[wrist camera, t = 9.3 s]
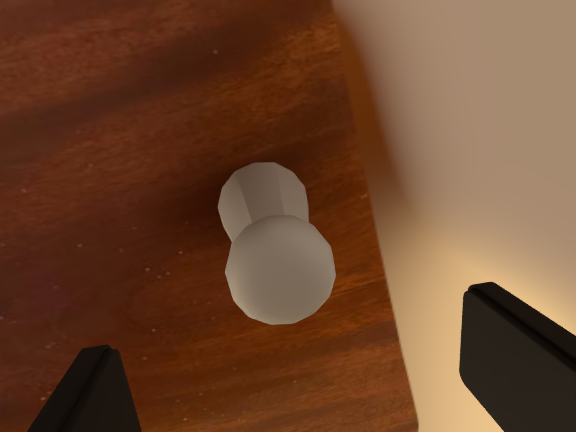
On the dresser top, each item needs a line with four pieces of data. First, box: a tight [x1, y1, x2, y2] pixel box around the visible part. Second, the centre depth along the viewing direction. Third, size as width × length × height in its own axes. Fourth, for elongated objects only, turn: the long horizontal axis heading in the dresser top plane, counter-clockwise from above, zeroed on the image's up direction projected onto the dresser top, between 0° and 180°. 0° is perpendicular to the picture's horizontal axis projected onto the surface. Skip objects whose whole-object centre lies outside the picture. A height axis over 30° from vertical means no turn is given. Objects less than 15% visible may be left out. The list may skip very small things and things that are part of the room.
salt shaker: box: [218, 162, 336, 325], centre depth 19 cm, size 6×6×13 cm
